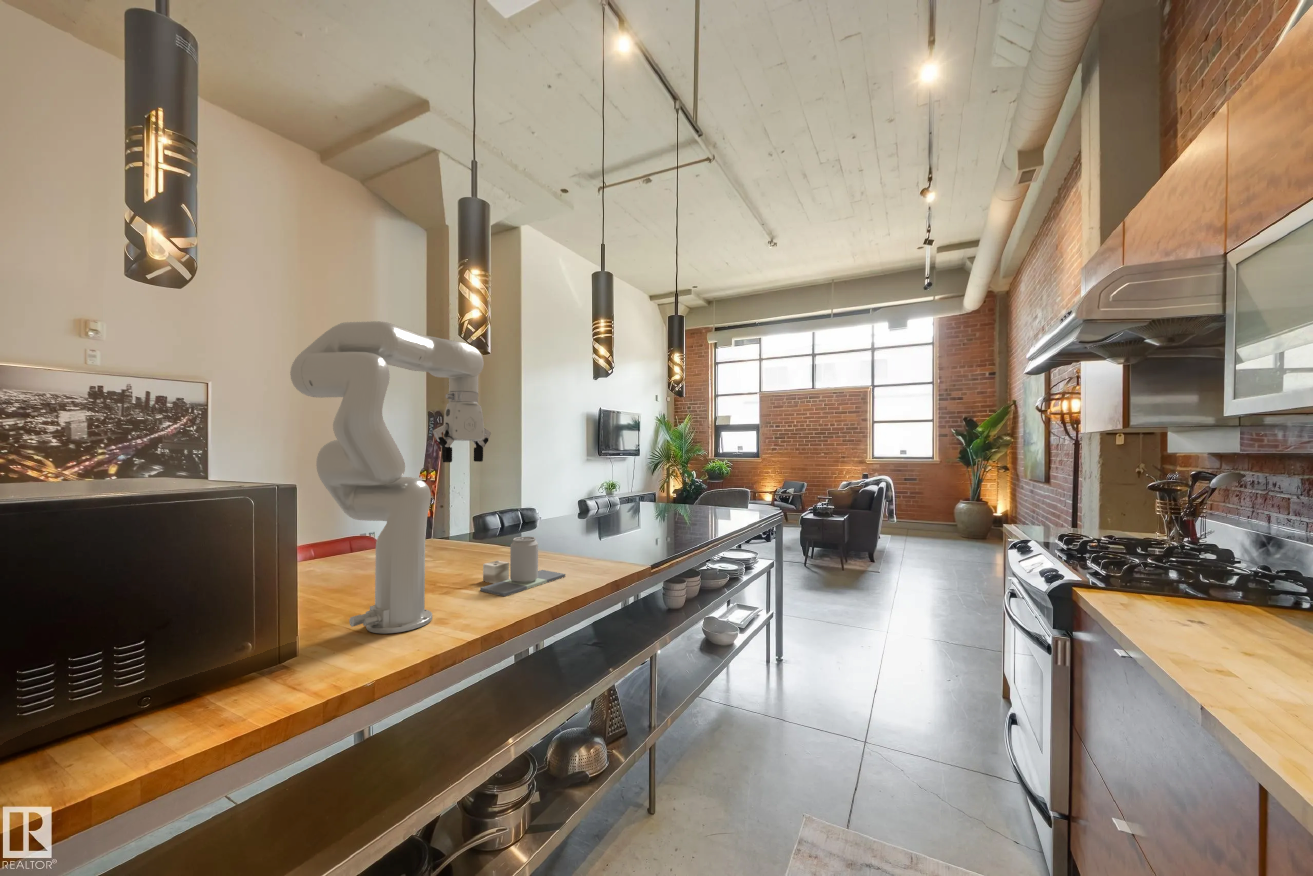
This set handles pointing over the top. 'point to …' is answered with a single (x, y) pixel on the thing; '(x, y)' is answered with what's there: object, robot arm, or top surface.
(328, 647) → the top surface
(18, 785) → the top surface
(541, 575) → the board
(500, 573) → the die
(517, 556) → the can
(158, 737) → the top surface
